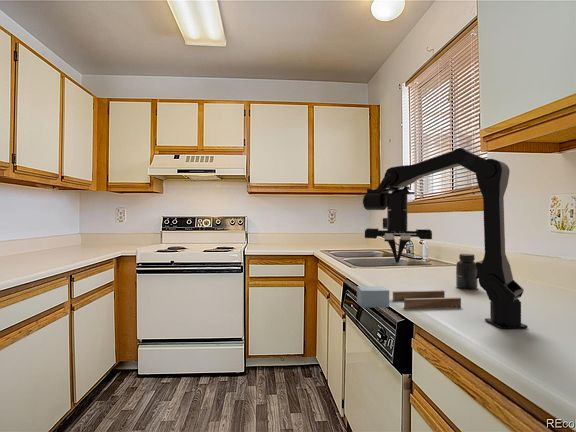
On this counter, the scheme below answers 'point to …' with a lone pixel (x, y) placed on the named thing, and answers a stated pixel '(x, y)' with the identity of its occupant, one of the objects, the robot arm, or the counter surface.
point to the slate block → (372, 296)
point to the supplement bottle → (466, 272)
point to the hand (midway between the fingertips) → (397, 262)
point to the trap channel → (426, 299)
